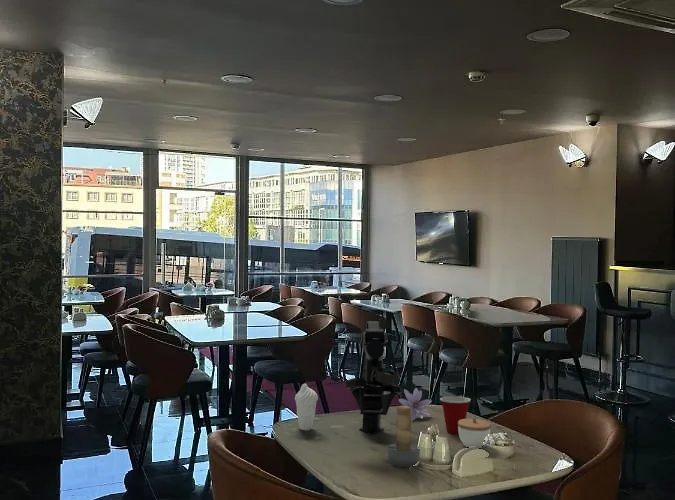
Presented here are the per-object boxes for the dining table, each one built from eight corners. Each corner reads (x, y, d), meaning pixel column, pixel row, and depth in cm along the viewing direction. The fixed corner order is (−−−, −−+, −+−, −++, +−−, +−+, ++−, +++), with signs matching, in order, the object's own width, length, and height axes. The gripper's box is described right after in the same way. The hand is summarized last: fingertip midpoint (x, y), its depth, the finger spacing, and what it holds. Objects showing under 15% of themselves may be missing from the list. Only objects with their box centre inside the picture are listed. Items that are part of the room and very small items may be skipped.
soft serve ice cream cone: (321, 427, 230) (322, 383, 230) (310, 433, 223) (311, 387, 222) (300, 424, 234) (301, 380, 233) (289, 430, 226) (290, 384, 226)
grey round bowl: (398, 453, 203) (399, 441, 203) (425, 461, 197) (426, 448, 197) (380, 461, 196) (380, 448, 196) (407, 469, 189) (407, 456, 189)
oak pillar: (398, 445, 199) (399, 405, 199) (412, 447, 198) (413, 407, 197) (394, 449, 195) (395, 408, 195) (408, 451, 193) (409, 410, 193)
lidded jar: (453, 441, 218) (454, 413, 218) (484, 441, 219) (485, 413, 219) (462, 451, 207) (463, 422, 207) (494, 451, 208) (495, 422, 208)
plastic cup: (460, 426, 236) (461, 393, 236) (475, 434, 226) (476, 400, 225) (433, 428, 232) (434, 395, 232) (448, 437, 222) (449, 402, 222)
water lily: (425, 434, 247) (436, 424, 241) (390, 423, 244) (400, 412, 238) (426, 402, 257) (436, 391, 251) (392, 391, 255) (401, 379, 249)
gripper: (365, 356, 204) (364, 406, 197) (411, 366, 213) (412, 413, 207) (345, 363, 212) (344, 411, 206) (390, 371, 221) (390, 417, 215)
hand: (373, 413), depth 208 cm, fingers open, 9 cm apart
